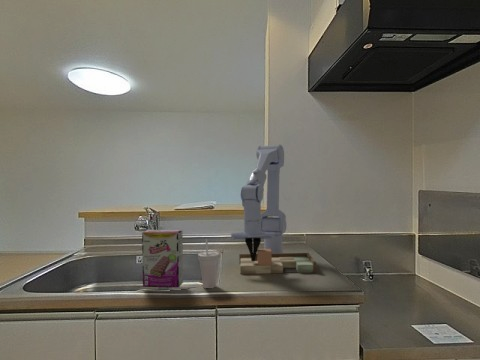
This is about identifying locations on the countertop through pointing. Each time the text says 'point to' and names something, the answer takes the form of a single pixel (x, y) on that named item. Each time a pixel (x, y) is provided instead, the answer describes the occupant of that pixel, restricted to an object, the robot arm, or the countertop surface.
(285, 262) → the cubby shelf
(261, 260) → the block
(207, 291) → the countertop surface
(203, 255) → the smoothie
